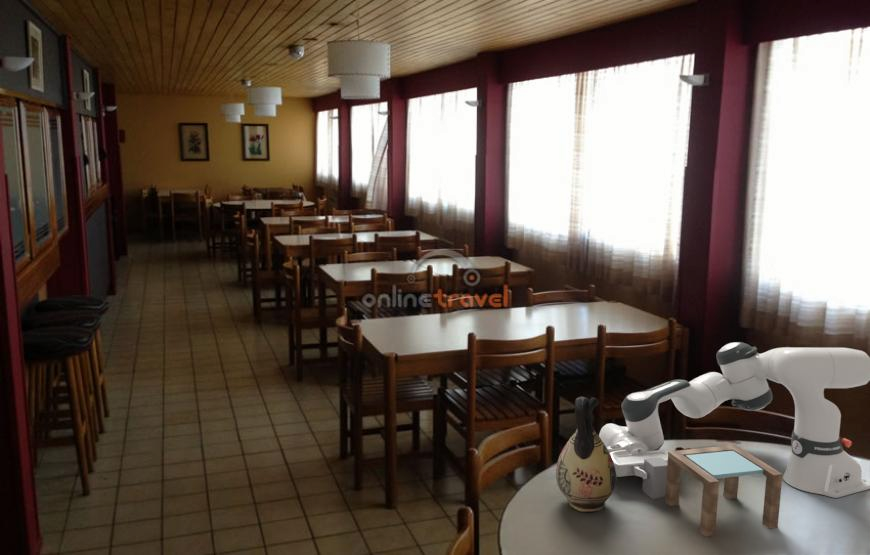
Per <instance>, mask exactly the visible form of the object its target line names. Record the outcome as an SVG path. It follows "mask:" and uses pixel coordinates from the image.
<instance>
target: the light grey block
mask: <svg viewBox="0 0 870 555" xmlns="http://www.w3.org/2000/svg"><path fill="white" fill-rule="evenodd" d="M667 463H668V462H666V461H665V460H664V459H662V458H661V457H660V458H650V459H644V471H646V470H647V471H648V472H649V473H650V479H643V478H642V491H643V492H644V493H646V495H647V496H649V497H650V498H651V499H659V498H665V494H666V479H667Z"/></svg>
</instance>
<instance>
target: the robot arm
mask: <svg viewBox="0 0 870 555" xmlns="http://www.w3.org/2000/svg"><path fill="white" fill-rule="evenodd" d="M757 350H758V348H757V347H756V346H752V345H750V344H748V343H744V342H741V341H738V342H737V341H736V342H735V341H734V342H729V343H726V344H725V345H724V346H722V347H721V348H720V349H719V350H717V352H716V355H715V356H716V361H717V364H718V366H719V367H720V370H721V372H722V374H721V373H720V372H716V371H709V372H707V373H704V374H702V375H699V376H698V377H694V378H693V379H692V380H690V381H688V380H685V379H673V380H670V381H666V382H663V383H660V384H657V385H656V386H653V387H651V388H647V389H644V390H640V391H636V392H632V393H630V394H627V395H626V396H625V398H624V399H623V401H622V402H621V405H620V407H621V410H622V411H621V412H622V414H623V417H624V419H625V423H626V426H622V425H618V424H616V423H612V422H611V423H606V424H605V425H603V426H602V427H601V429H600V431H599V434H598V436H599V437H600V438H601V440H602V441H603V443H604V444H605V446H606V447H607V449H608V451H609V453H610V454H611V457H612V459H613V462H614V466H615V470H616V478H617V477H620V478H621V477H629V476H635V477H640V478H642V480H643V479H650V473H649V472H648V471H647V470H646V471H644V459H650V458H660V457H661V458H662V459H664V460H665V461H666V462H668V451H669V450H668V449H667V450H666V449H661V448H662V446H663V445H664V443H665V438H664V434H663V429H662V424H661V421H660V416H659V405H660V403H661V404H662V403H663V402H666V401H668V400H670V399H671V401H672V403H673V405H674V407H675V408H676V409H677V410H678V411H679V412H680V414H681V413H682V414H683V415H684V416H686V417H689V418H690V419H691V418H692V419H699V418H703V417H705V416H706V415H708V414H710V413H711V412H712V411H713V410H715V409H717V408H718V407H719V406H720V405H721V404H722V403H724V402H725V401H728V400H732V401H731V403H730V404H731V405H732V406H733V407H738V408H740V409H741V410H745V411H748V412H749V411H750V412H751V411H759V410H762V409H764V408H765V407H767V406H768V405H770V404H771V403H772V400H773V399H774V398H773V396H774V395H773V392H772V389H771V387H770V386H769V382H768V381H767V380H769V381H772V382H774V383H777V384H781V385H783V386H784V387H785V388H786V389H787V390H788V391H789V393H790V394H791V396H792V399H793V403H794V427H793V430H792V433H791V440H790V446H791V449H790V451H789V452H790V454H789V457H788V460H787V465H786V467H785V471H784V473H783V476H782V480H784V482H785V483H787V485H790V486H791V487H793V488H796V489H798V490H799V491H804V492H806V493H811V494H818V495H823V496H827V497H830V498H832V499H833V498H835V499H837V498H841V497H844V496H848V495H852V494H855V493H860V492H863V491H867V490H870V482H869V481H868V480H867V479H866V478H864V477H863V475H862V467H861V465H860V463H859V462H858V461H857V460H856V459H855V458H854V457H853V456H851V455H850V454H848V453H847V452H846V451H845V450H844V448H843V446H844V447H846V448H850V447H851V446H852V444H853V442H852V441H851V440H850V439H847V438H846V437H842V438H841V436H840V429H841V420H842V419H841V418H842V414H841V410H840V409H839V407H838V406H837V405H836V404H835V403H834V402H832V401H830V400H829V399H826V398H825V393H824V391H825V389H850V388H856V387H861V386H864V385H867V384H868V383H869V382H870V356H869V355H868V354H867V353H866V352H865V351H863V350H861V349H860V350H859V349H854V348H850V347H808V346H807V347H802V346H801V347H790V346H785V347H776V348H772V349H769V350H767V351H765V352H762V353H758V351H757Z"/></svg>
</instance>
